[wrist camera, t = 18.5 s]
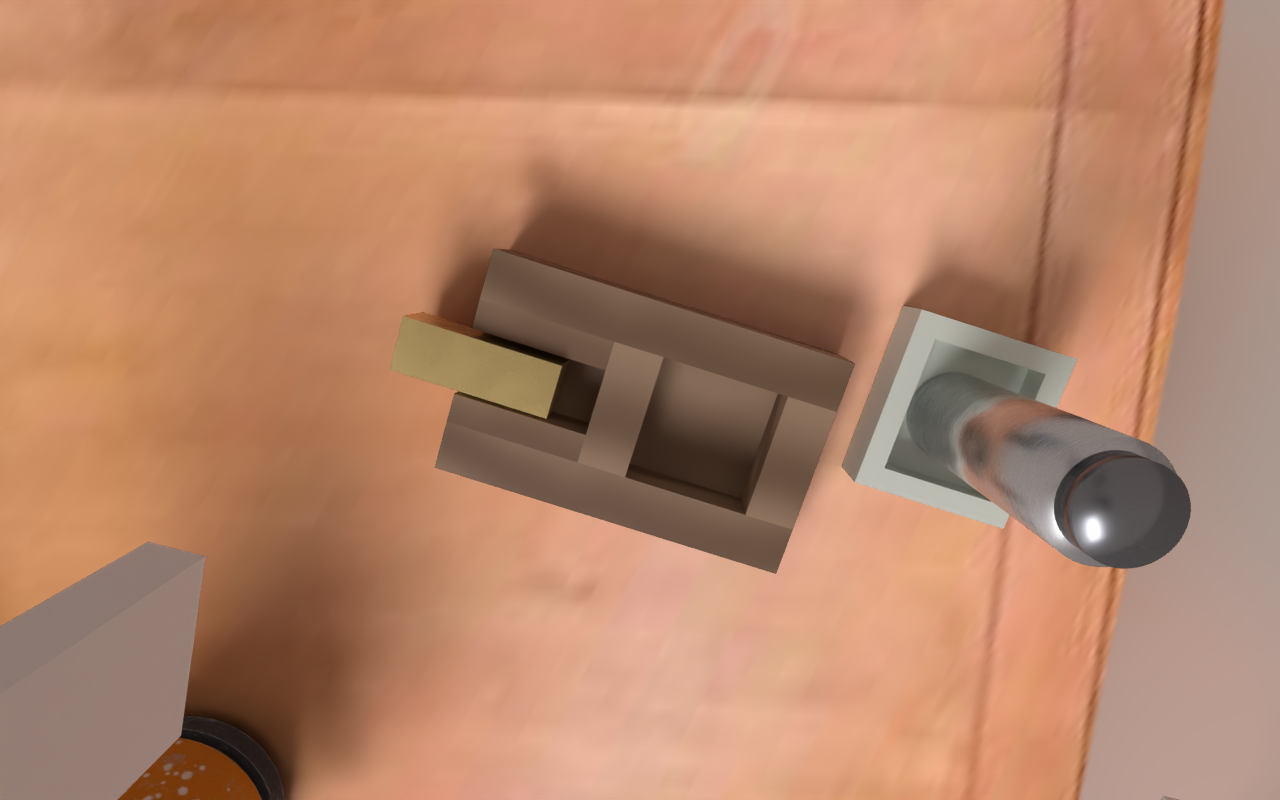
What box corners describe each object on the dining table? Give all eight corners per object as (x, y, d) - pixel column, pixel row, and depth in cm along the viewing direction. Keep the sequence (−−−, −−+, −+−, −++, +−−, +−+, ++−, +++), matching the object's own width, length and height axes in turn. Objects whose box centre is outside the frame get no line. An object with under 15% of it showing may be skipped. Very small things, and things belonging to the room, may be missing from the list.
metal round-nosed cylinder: (926, 360, 33) (1094, 426, 20) (1009, 387, 33) (1230, 470, 20) (893, 442, 33) (1035, 557, 21) (975, 468, 33) (1166, 598, 21)
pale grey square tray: (903, 305, 33) (921, 309, 31) (1047, 352, 33) (1077, 359, 31) (841, 466, 35) (854, 482, 32) (979, 510, 35) (1003, 528, 32)
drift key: (422, 311, 33) (403, 316, 31) (569, 358, 33) (562, 366, 31) (410, 361, 33) (390, 369, 31) (555, 407, 34) (546, 418, 31)
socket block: (508, 249, 33) (493, 248, 30) (838, 354, 34) (855, 363, 31) (454, 450, 35) (434, 467, 32) (767, 547, 36) (775, 573, 33)
